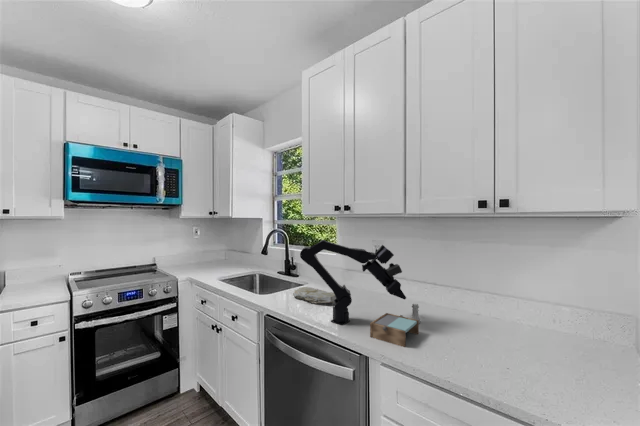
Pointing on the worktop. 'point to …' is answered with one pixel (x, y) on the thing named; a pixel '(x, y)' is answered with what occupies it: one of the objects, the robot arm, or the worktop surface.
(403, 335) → the walnut stand
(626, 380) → the worktop surface
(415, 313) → the rook chess piece
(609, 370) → the worktop surface
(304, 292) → the fossil stone
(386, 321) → the trapdoor flap
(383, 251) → the robot arm
